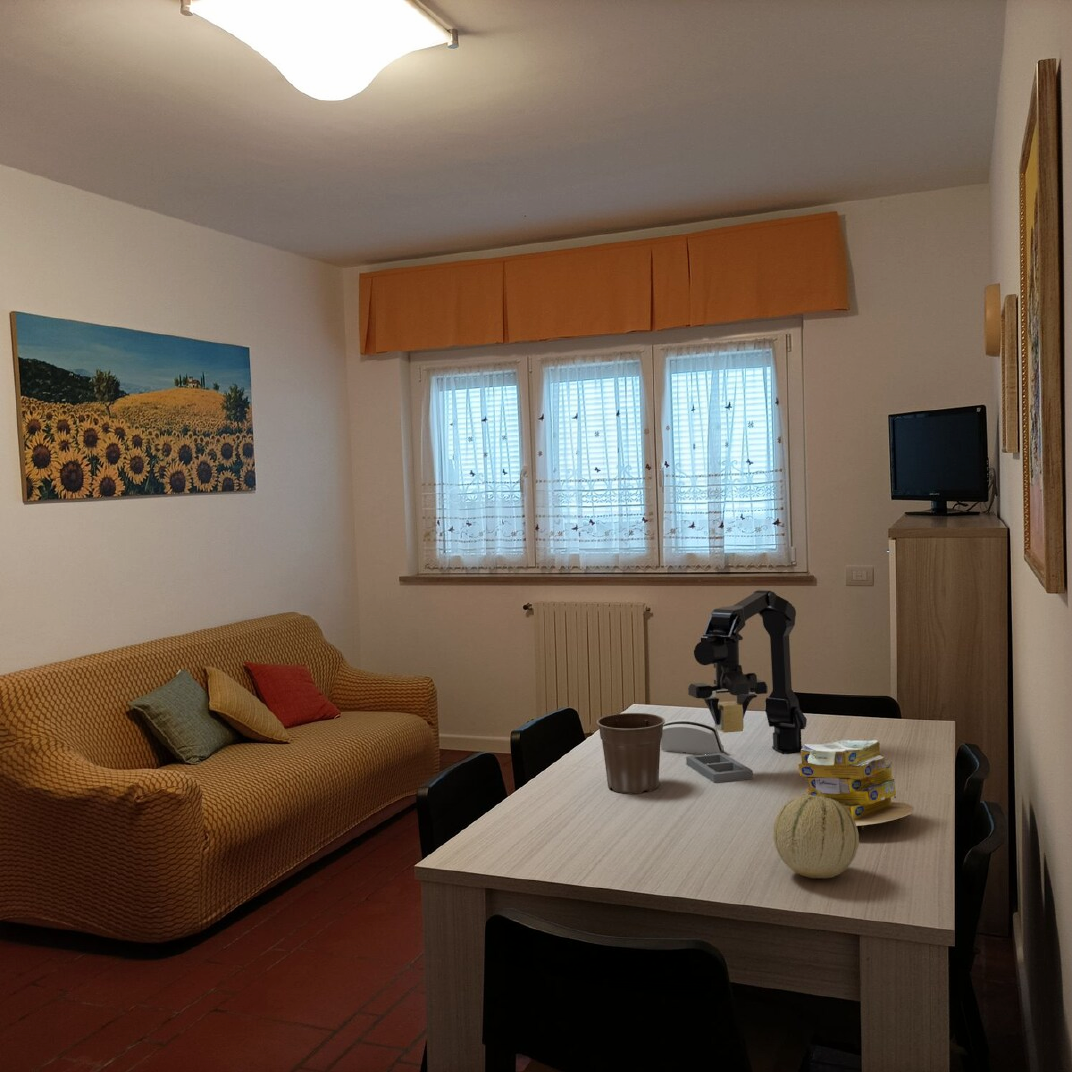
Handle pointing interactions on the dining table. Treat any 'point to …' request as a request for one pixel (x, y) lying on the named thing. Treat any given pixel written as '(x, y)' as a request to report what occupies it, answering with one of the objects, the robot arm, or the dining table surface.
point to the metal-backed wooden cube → (730, 717)
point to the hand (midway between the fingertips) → (728, 723)
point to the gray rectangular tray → (719, 767)
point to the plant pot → (631, 750)
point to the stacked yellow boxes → (853, 779)
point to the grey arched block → (690, 737)
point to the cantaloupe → (816, 836)
